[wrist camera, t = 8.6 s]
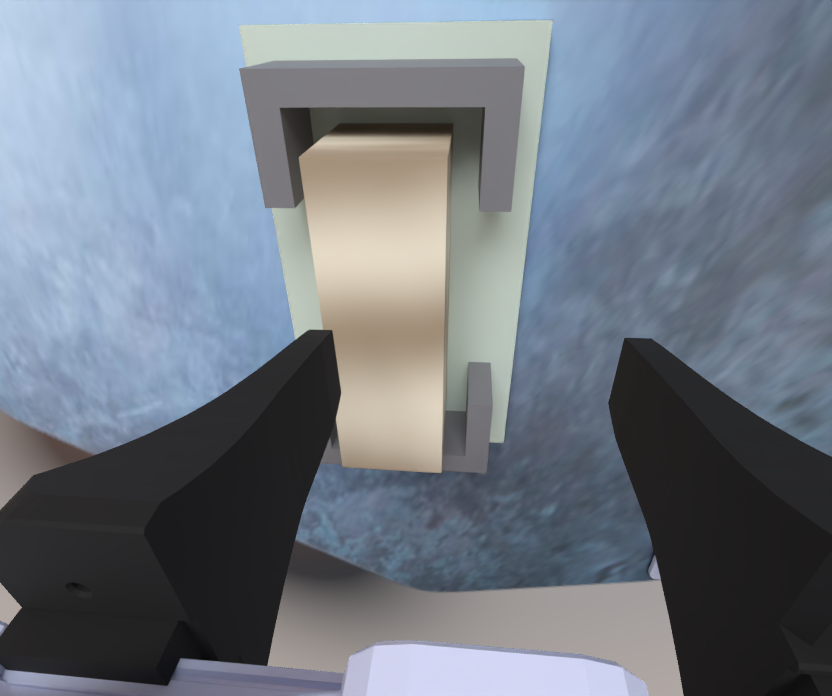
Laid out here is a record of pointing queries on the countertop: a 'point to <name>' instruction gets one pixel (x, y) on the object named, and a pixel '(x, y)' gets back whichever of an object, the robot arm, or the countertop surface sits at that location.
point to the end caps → (471, 174)
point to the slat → (385, 284)
